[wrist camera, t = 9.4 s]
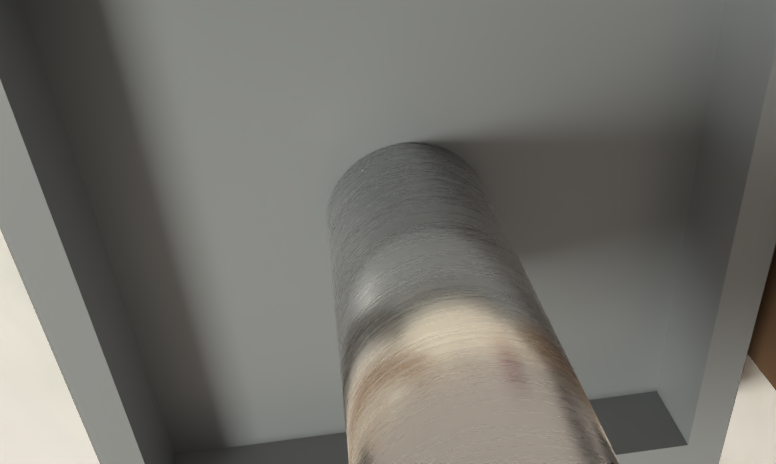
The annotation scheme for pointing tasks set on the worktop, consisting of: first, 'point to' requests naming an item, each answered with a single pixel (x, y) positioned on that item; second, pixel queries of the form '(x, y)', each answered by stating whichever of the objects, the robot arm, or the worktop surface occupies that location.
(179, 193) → the tray
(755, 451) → the worktop surface
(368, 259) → the pin
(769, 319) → the block
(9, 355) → the worktop surface
